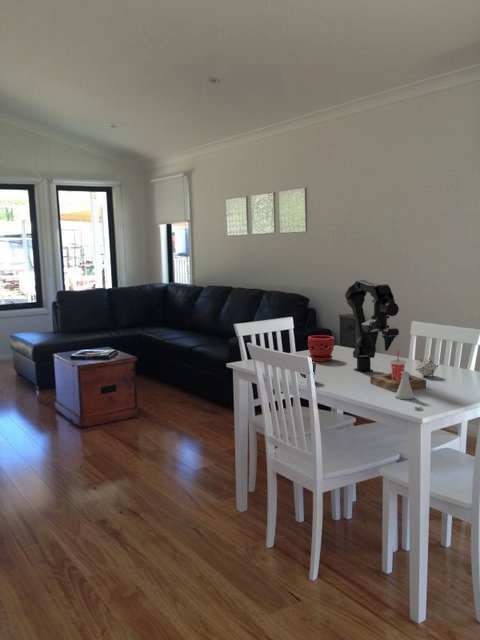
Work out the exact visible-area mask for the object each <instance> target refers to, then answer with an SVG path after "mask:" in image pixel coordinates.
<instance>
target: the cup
mask: <svg viewBox="0 0 480 640" xmlns="http://www.w3.org/2000/svg"><path fill="white" fill-rule="evenodd" d="M312 364H313V372H314V376H315V374H316V367H317V363H316V362H312ZM299 374H300V376H301V377H302V378H303V377H304V378H306V375H305V374H302V373H300V372H299Z"/></svg>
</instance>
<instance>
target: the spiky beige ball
mask: <svg viewBox="0 0 480 640" xmlns="http://www.w3.org/2000/svg"><path fill="white" fill-rule="evenodd" d="M419 360H420V362H419V363H418V366H417V368H415V371H418V372H419V373H420V374H421V375H422V376H423V378H425V377H428V376H429V377H430V376H432V377H435V376H434V374H435V371H436V369H437V368H438V367H439V365H436V364H435V363H434V362H433V361H432V360H431V358H430V357H429V358H428V359H422V358H420V359H419Z"/></svg>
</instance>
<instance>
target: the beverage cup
mask: <svg viewBox="0 0 480 640" xmlns="http://www.w3.org/2000/svg"><path fill="white" fill-rule="evenodd" d="M399 356H400V349H397V359H391V360H390V365H391V366H390V368H391V373H392V381H395V382H397V381H401V379H402V374H401V372H403V371H405V367H406V363H407V362H406V360H401V359H399V358H400V357H399Z"/></svg>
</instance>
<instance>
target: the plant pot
mask: <svg viewBox="0 0 480 640" xmlns="http://www.w3.org/2000/svg"><path fill="white" fill-rule="evenodd" d="M307 338H308V339H307V346H308V352H309V354H310V355H309V356H308V357H309V358H310V357H311V358H312V361H314V362H329V361H331V360H332V359H333V355H332V354H333V351H334V346H335V337H334V336H330V335H323V334H322V335H321V334H320V335H310V336H308V337H307Z"/></svg>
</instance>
